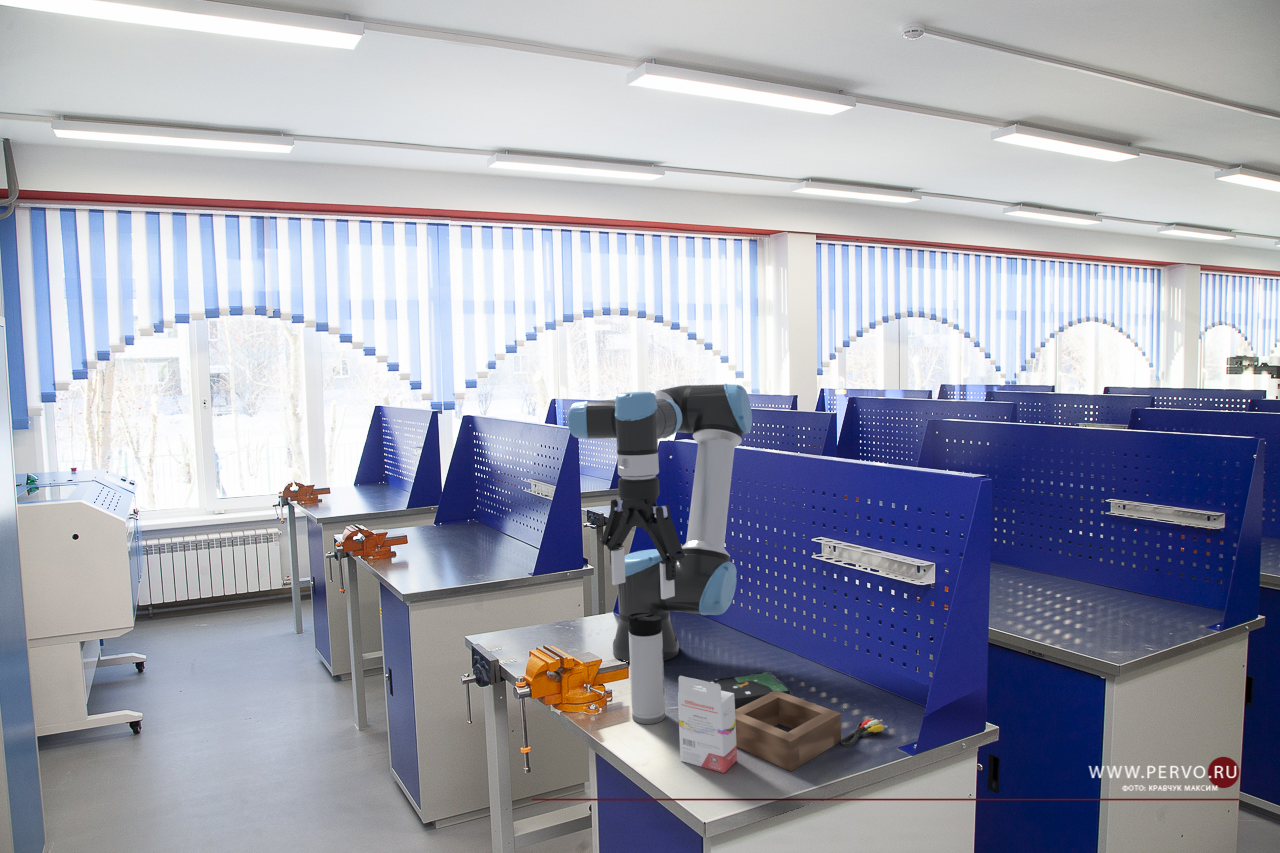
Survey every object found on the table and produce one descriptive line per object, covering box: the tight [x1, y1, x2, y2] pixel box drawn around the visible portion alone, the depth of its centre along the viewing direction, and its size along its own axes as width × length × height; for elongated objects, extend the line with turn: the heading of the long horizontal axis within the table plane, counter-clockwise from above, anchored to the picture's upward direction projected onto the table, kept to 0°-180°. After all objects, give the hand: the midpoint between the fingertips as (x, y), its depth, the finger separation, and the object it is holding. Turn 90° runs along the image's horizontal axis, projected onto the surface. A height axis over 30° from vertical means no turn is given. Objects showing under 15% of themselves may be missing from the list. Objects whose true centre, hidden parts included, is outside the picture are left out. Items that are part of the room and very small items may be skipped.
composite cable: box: [840, 717, 889, 748], centre depth 138 cm, size 10×5×2 cm, turn 119°
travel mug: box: [628, 613, 666, 725], centre depth 147 cm, size 6×7×20 cm
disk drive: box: [706, 671, 792, 710], centre depth 156 cm, size 10×3×15 cm
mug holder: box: [735, 690, 842, 772], centre depth 137 cm, size 14×14×5 cm
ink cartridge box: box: [677, 675, 738, 774], centre depth 131 cm, size 9×5×15 cm, turn 56°
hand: (642, 590), depth 146 cm, fingers open, 13 cm apart
